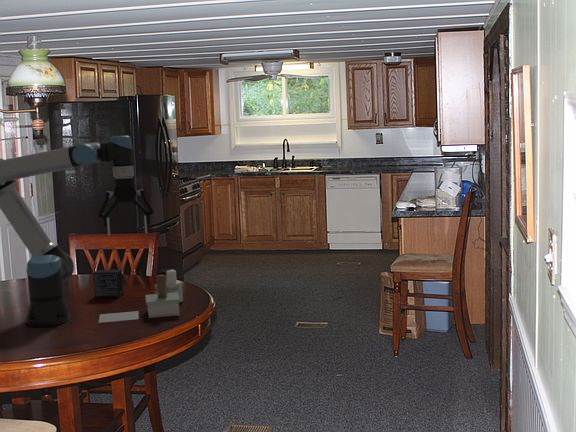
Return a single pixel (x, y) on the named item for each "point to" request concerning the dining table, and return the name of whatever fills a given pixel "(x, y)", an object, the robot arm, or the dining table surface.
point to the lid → (162, 294)
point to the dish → (163, 310)
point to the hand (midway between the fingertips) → (127, 234)
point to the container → (171, 283)
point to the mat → (118, 316)
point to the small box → (108, 283)
